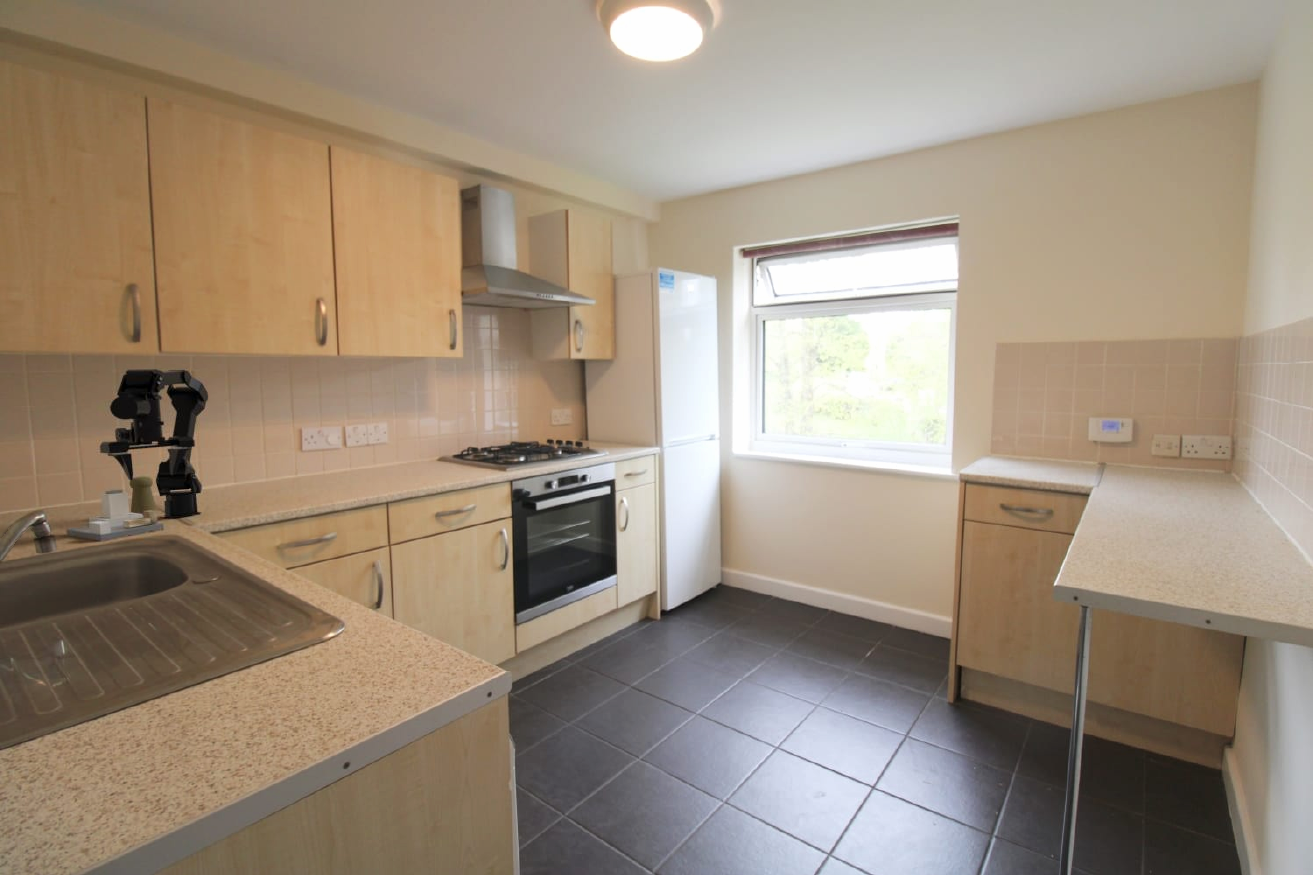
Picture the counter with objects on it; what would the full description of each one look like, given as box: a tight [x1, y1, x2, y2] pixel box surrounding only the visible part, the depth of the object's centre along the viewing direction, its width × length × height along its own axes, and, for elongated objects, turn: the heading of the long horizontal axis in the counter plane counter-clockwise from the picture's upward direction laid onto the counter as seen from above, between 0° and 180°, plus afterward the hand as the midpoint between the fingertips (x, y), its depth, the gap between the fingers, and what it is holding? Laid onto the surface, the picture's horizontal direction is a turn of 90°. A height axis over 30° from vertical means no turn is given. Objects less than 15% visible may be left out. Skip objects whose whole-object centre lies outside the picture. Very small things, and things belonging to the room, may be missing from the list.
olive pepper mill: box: [129, 476, 158, 515], centre depth 182 cm, size 6×6×11 cm
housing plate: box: [65, 511, 165, 542], centre depth 159 cm, size 13×17×4 cm
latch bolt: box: [123, 510, 159, 527], centre depth 159 cm, size 6×3×3 cm, turn 154°
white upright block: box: [100, 489, 130, 519], centre depth 162 cm, size 4×4×9 cm
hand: (152, 477), depth 164 cm, fingers open, 9 cm apart
